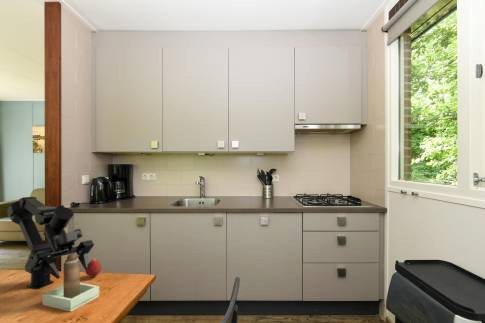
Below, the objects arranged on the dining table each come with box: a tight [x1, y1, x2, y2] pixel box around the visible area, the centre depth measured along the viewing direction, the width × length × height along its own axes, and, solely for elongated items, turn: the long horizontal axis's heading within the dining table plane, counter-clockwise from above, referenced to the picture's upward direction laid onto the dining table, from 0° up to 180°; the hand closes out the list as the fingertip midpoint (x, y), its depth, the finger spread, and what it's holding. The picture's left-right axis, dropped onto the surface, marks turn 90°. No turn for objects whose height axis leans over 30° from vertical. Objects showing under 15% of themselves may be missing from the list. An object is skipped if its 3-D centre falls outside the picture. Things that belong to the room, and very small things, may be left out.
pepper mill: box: [63, 253, 81, 299], centre depth 96 cm, size 5×5×15 cm
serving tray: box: [42, 282, 100, 312], centre depth 96 cm, size 13×11×4 cm
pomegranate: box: [84, 257, 102, 278], centre depth 115 cm, size 6×6×8 cm
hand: (73, 273), depth 96 cm, fingers open, 9 cm apart
